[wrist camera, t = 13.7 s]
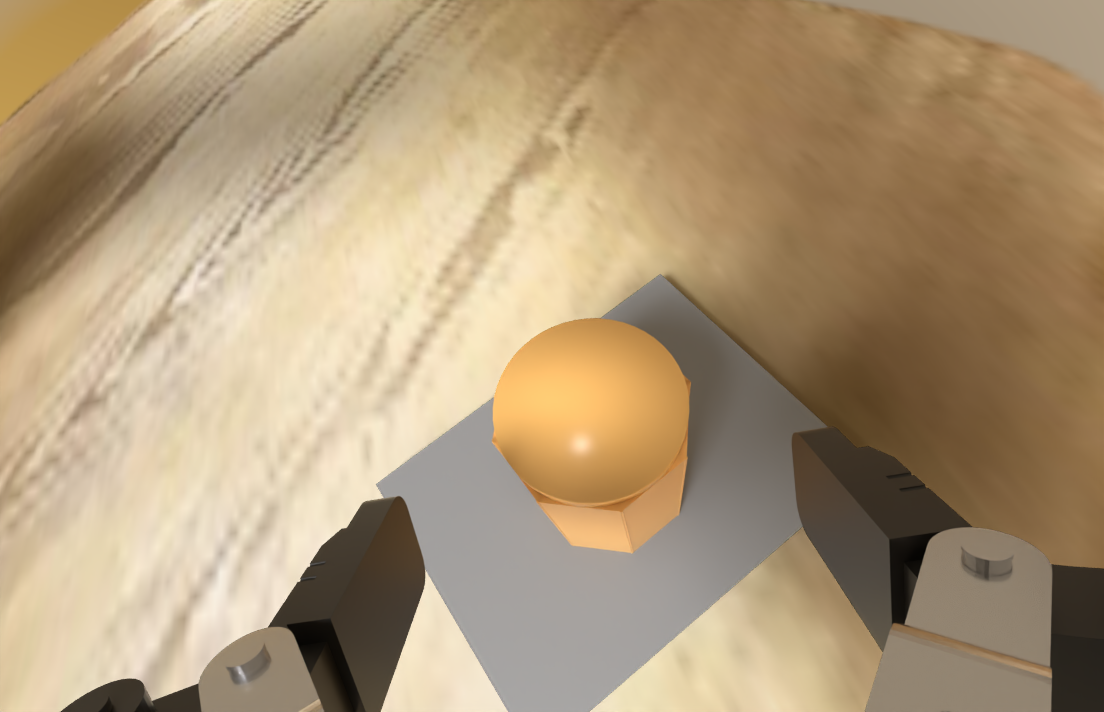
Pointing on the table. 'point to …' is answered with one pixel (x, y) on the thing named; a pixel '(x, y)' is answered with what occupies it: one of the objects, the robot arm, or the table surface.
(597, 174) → the table surface
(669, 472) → the orange domed hexagonal post
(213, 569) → the table surface
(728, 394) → the post board
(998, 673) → the robot arm
